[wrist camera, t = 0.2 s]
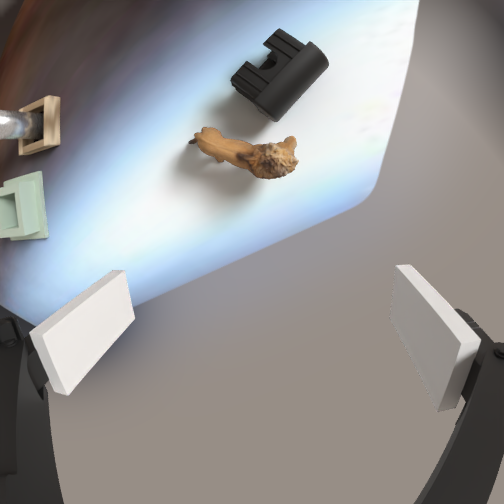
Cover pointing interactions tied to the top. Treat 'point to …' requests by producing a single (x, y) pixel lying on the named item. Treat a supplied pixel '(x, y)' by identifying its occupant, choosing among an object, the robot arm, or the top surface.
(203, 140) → the lion figurine
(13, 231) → the socket
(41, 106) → the mount
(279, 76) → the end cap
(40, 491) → the robot arm
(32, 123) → the silver capped cylinder
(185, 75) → the top surface
